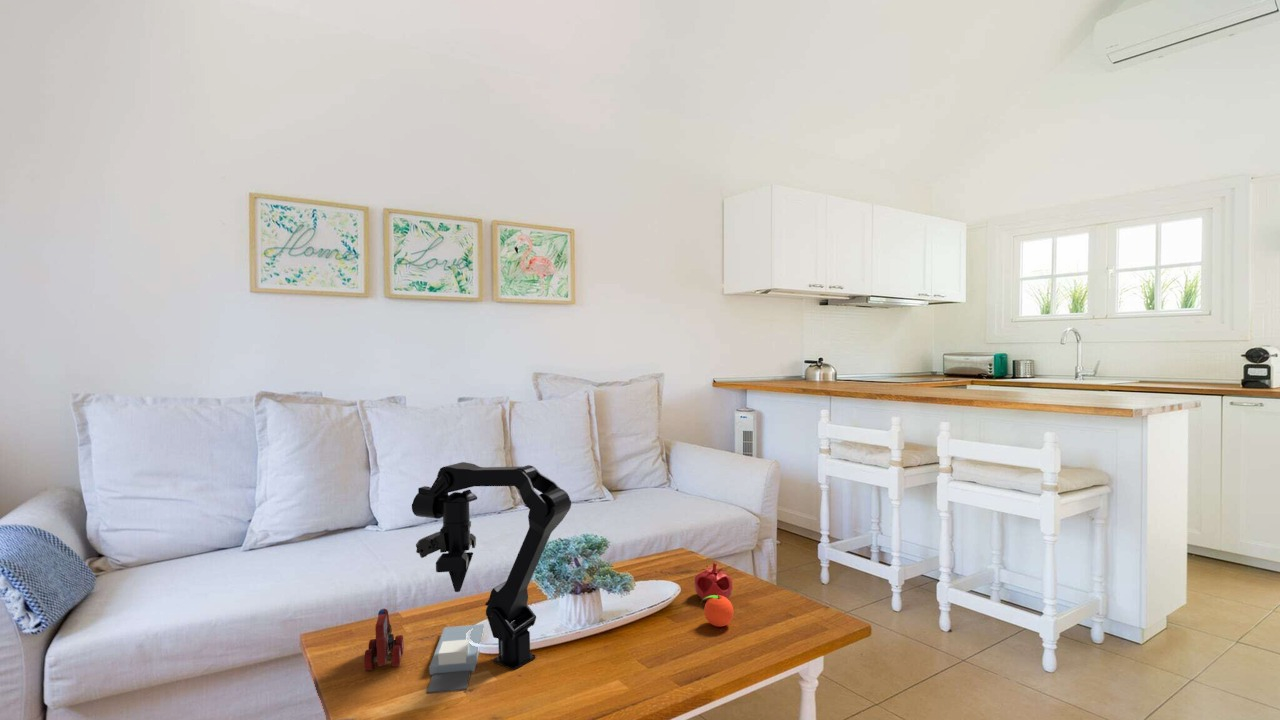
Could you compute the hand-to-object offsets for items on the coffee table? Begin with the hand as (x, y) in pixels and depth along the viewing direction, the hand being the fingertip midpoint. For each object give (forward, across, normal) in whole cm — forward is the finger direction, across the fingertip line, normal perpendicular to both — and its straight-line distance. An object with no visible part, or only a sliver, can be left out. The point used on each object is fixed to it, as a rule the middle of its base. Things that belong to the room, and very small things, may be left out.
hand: (458, 590), depth 141 cm
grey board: (+13, +2, 0) cm, 13 cm away
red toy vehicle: (+13, +3, -15) cm, 20 cm away
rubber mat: (+13, +15, 0) cm, 20 cm away
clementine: (+13, -1, +59) cm, 61 cm away
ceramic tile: (+11, +8, 0) cm, 14 cm away
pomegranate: (+13, -17, +63) cm, 66 cm away
